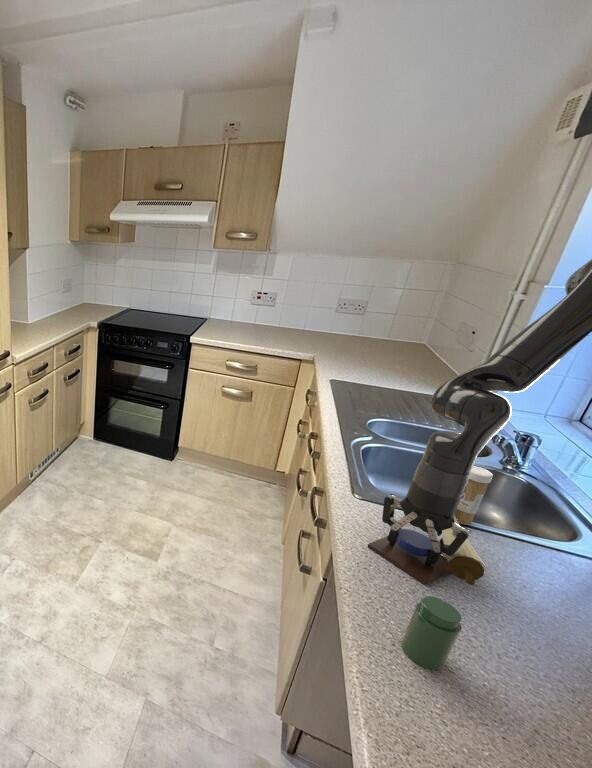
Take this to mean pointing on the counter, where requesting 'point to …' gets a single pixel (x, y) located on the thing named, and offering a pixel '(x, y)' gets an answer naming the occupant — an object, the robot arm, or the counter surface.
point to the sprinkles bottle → (473, 495)
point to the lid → (414, 542)
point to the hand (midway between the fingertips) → (410, 553)
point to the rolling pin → (463, 559)
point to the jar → (431, 633)
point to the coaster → (410, 561)
